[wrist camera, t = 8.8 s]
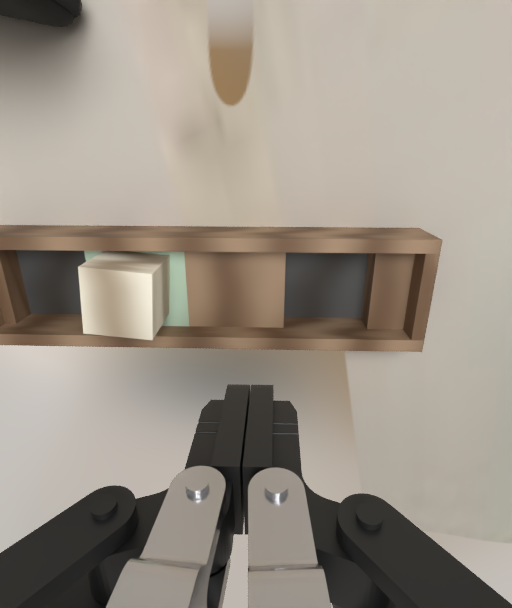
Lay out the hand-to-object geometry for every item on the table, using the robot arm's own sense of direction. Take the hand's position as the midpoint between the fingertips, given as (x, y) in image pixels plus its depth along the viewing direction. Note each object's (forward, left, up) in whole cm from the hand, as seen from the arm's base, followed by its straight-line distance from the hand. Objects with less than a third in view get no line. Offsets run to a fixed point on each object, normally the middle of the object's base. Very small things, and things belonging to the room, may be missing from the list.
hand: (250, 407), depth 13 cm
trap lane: (+5, +3, -22) cm, 22 cm away
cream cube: (+10, +2, -19) cm, 22 cm away
